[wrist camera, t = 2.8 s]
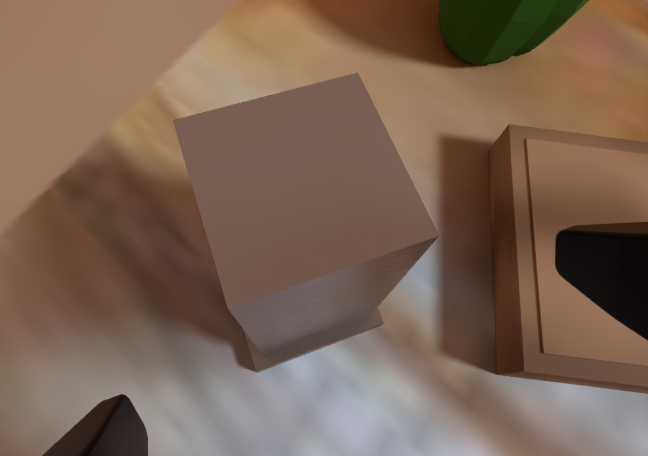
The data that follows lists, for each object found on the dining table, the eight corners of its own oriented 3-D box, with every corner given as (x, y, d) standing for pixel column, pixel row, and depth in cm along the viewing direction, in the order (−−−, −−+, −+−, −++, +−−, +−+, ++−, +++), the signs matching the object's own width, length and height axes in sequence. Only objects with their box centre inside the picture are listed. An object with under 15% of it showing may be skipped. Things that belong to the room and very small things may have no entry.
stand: (755, 406, 19) (819, 407, 17) (497, 374, 19) (525, 371, 17) (697, 178, 24) (742, 153, 22) (488, 151, 24) (509, 123, 21)
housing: (380, 325, 20) (468, 248, 10) (257, 372, 19) (211, 340, 9) (334, 215, 22) (367, 54, 12) (220, 251, 21) (148, 109, 11)
